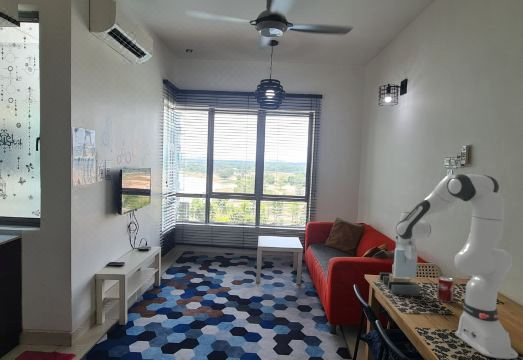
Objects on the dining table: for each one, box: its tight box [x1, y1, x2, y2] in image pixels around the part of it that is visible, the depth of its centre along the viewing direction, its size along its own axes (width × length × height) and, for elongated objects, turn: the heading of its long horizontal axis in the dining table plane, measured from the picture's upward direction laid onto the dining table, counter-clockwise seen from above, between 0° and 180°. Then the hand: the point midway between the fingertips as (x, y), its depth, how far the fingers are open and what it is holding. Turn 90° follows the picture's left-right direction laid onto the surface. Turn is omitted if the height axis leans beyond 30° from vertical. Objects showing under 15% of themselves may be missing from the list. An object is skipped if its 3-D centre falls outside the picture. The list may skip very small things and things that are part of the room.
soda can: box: [436, 276, 455, 303], centre depth 169 cm, size 7×7×12 cm
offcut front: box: [392, 276, 411, 282], centre depth 182 cm, size 2×10×6 cm, turn 88°
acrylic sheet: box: [392, 248, 419, 279], centre depth 177 cm, size 2×12×16 cm, turn 88°
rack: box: [378, 272, 421, 296], centre depth 186 cm, size 22×16×5 cm
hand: (405, 262), depth 177 cm, fingers closed on acrylic sheet, 2 cm apart
